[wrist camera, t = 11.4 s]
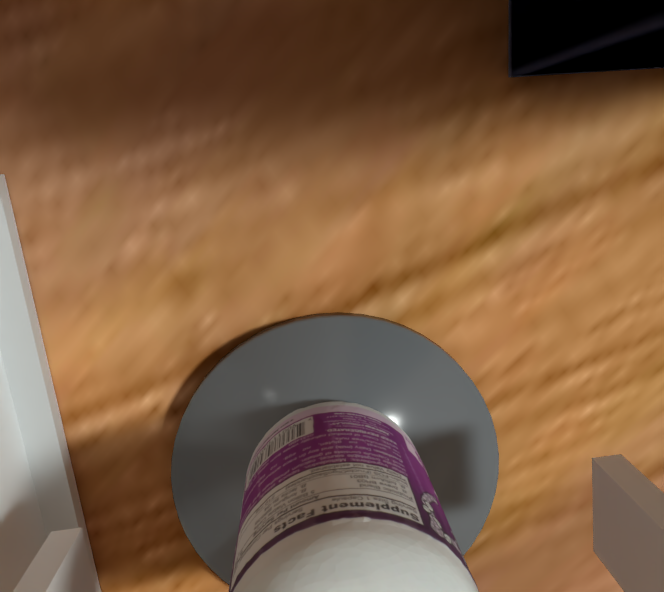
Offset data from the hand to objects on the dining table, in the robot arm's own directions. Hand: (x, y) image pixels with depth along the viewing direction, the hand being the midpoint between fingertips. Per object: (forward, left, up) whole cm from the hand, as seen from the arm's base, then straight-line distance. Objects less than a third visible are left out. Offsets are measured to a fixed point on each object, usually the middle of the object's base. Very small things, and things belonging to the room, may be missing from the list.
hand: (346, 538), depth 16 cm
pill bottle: (0, 0, -3) cm, 3 cm away
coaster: (0, 0, -4) cm, 4 cm away
